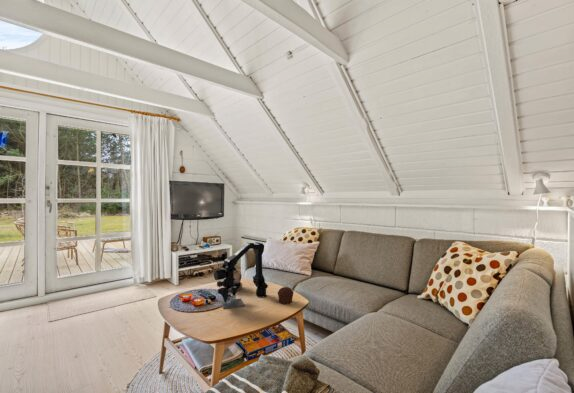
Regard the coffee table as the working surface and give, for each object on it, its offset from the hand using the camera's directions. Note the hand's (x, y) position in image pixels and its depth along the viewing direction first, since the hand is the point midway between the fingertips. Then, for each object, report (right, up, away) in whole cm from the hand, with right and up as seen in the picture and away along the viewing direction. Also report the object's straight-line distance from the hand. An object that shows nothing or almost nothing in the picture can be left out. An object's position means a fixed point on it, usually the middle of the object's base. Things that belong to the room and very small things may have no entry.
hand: (229, 300), depth 196 cm
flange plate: (+2, -3, +1) cm, 4 cm away
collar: (0, -2, 0) cm, 2 cm away
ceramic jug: (-3, -3, +31) cm, 31 cm away
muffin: (+38, -4, +5) cm, 39 cm away
